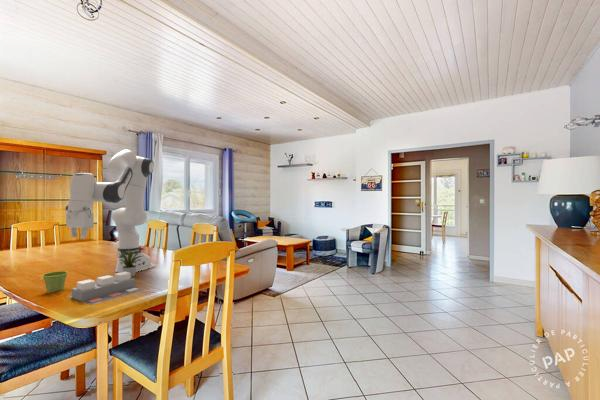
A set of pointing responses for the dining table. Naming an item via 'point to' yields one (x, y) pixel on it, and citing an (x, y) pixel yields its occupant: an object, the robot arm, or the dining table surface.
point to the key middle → (105, 280)
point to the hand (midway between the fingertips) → (78, 237)
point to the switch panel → (105, 292)
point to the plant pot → (55, 281)
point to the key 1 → (85, 285)
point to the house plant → (129, 262)
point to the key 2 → (122, 276)
